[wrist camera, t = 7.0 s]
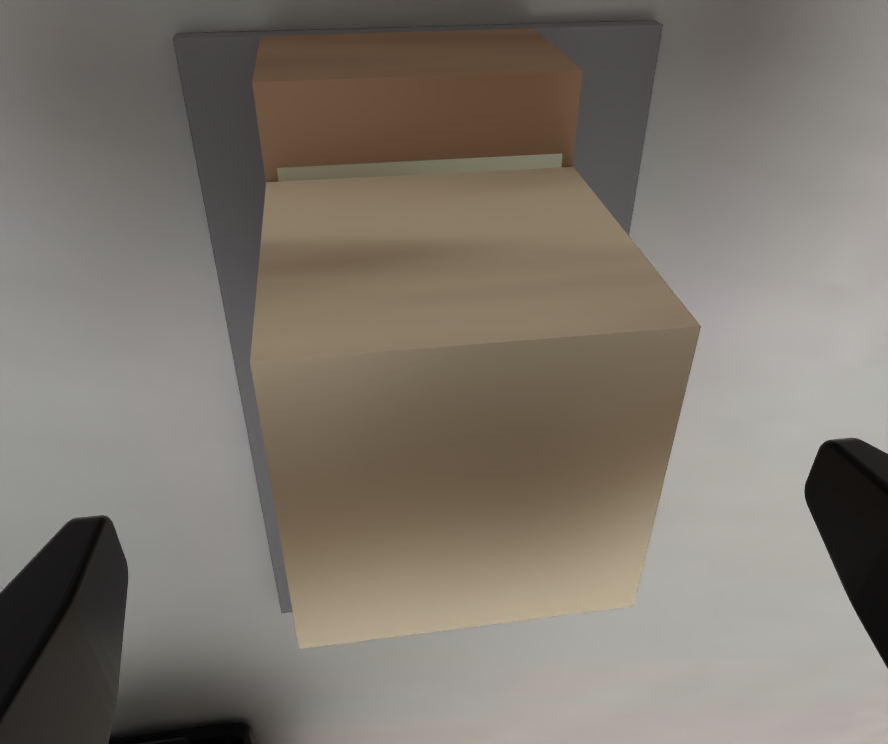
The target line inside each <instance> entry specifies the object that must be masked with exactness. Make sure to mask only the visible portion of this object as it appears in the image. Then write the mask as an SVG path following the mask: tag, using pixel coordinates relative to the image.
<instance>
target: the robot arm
mask: <svg viewBox="0 0 888 744" xmlns="http://www.w3.org/2000/svg"><path fill="white" fill-rule="evenodd" d="M805 499H806V502H807V505H808V508H809V510H810V512H811V514H812V517H813V519H814V521H815V523H816V526H817V528H818V530H819V533H820V535H821V537H822V539H823V542H824V544H825V546H826V548H827V551H828V553H829V555H830V558H831V560H832V562H833V564H834V567H835V569H836V571H837V573H838V576H839V578H840V580H841V583H842V585H843V587H844V589H845V591H846V593H847V596H848V598H849V600H850V602H851V604H852V606H853V608H854V610H855V611H856V613H857V615H858V617H859V619H860V621H861V623H862V624H863V626H864V628H865V630H866V631H867V633H868V635H869V637H870V638H871V640H872V642H873V644H874V645H875V647H876V649H877V651H878V652H879V654H880V656H881V658H882V659H883V661H884V663H885V665H886V667H887V668H888V454H887V453H885V452H883V451H881V450H879V449H877V448H875V447H874V446H872V445H870V444H868V443H866V442H864V441H862V440H860V439H857V438H844V439H834V440H828V441H825V442H824V443H823V444H822V445H821V446H820V448H819V450H818V452H817V455H816V458H815V460H814V463H813V465H812V468H811V471H810V473H809V476H808V478H807V481H806V484H805ZM127 587H128V567H127V562H126V558H125V556H124V553H123V550H122V547H121V544H120V542H119V539H118V536H117V533H116V530H115V528H114V525H113V523H112V521H111V520H110V518H109V517H107V516H103V515H100V516H91V517H81V518H74V519H72V520H70V521H69V522H67V523H66V524H65V525H64V526H63V527H62V528H61V529H60V530H59V531H58V532H57V533H56V535H55V536H54V537H53V538H52V539H51V540H50V541H49V542H48V543H47V544H46V545H45V546H44V547H43V548H42V549H41V550H40V551H39V552H38V553H37V555H36V556H35V557H34V558H33V559H32V560H31V561H30V562H29V563H28V564H27V565H26V566H25V567H24V568H23V569H22V570H21V571H20V572H19V574H18V575H17V576H16V577H15V578H14V579H13V580H12V581H11V582H10V583H9V584H8V585H7V586H6V587H5V588H4V589H3V590H2V591H1V592H0V744H256V743H255V740H254V736H253V732H252V729H251V727H250V726H249V725H247V724H244V723H231V724H224V725H217V726H210V727H203V728H196V729H189V730H181V731H174V732H167V733H160V734H153V735H146V736H139V737H131V738H124V739H117V740H110V741H109V737H110V733H111V728H112V723H113V718H114V713H115V707H116V701H117V693H118V684H119V674H120V663H121V652H122V641H123V630H124V620H125V609H126V598H127Z"/></svg>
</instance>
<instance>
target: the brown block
mask: <svg viewBox="0 0 888 744" xmlns="http://www.w3.org/2000/svg"><path fill="white" fill-rule="evenodd" d="M582 71H583V70H582V69H580V68H579V67H578V66H577V65H576V64H575V63H574V62H572V61H571V60H570V59H569V58H568V57H567V56H565V55H564V54H563V53H562V52H561V51H560V50H559V49H557V48H556V47H555V46H554V45H553V44H552V43H551V42H549V41H548V40H547V39H546V38H545V37H544V36H543V35H541V34H540V33H539V32H538V31H537V30H536V29H535V28H531V29H496V30H461V31H426V32H391V33H357V34H322V35H287V36H260V41H259V47H258V52H257V58H256V63H255V69H254V74H253V80H252V85H253V93H254V100H255V107H256V115H257V122H258V129H259V136H260V144H261V151H262V158H263V166H264V173H265V180H266V182H280V181H300V180H320V179H340V178H359V177H379V176H399V175H419V174H439V173H459V172H479V171H499V170H519V169H539V168H559V167H572V165H573V156H574V146H575V137H576V127H577V118H578V108H579V99H580V90H581V80H582Z"/></svg>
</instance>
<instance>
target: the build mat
mask: <svg viewBox="0 0 888 744" xmlns="http://www.w3.org/2000/svg"><path fill="white" fill-rule="evenodd" d="M531 28H535V29H536V30H537V31H538V32H539V33H540V34H541V35H543V36H544V37H545V38H546V39H547V40H548V41H549V42H551V43H552V44H553V45H554V46H555V47H556V48H557V49H559V50H560V51H561V52H562V53H563V54H564V55H565V56H567V57H568V58H569V59H570V60H571V61H572V62H574V63H575V64H576V65H577V66H578V67H579V68H580V69H582V70H583V71H582V80H581V90H580V99H579V108H578V118H577V127H576V137H575V146H574V156H573V165H572V167H574V168H575V169H576V171H577V172H578V173H579V174H580V176H581V177H582V178H583V179H584V181H585V182H586V183H587V184H588V186H589V187H590V188H591V189H592V191H593V192H594V193H595V194H596V196H597V197H598V198H599V199H600V201H601V202H602V203H603V204H604V206H605V207H606V208H607V209H608V211H609V212H610V213H611V214H612V216H613V217H614V218H615V219H616V221H617V222H618V223H619V224H620V226H621V227H622V228H623V229H624V231H625V232H626V233H627V234H628V236H629V232H630V225H631V219H632V213H633V207H634V200H635V194H636V188H637V181H638V175H639V169H640V163H641V156H642V150H643V144H644V138H645V131H646V125H647V119H648V112H649V106H650V100H651V94H652V87H653V81H654V75H655V69H656V62H657V56H658V50H659V43H660V37H661V31H662V24H660V23H658V22H657V21H655V20H650V21H614V22H578V23H542V24H506V25H470V26H434V27H398V28H363V29H327V30H291V31H255V32H219V33H183V34H176V35H175V36H174V38H173V41H174V46H175V52H176V57H177V62H178V68H179V73H180V78H181V83H182V89H183V94H184V99H185V105H186V110H187V115H188V120H189V126H190V131H191V136H192V142H193V147H194V152H195V157H196V163H197V168H198V173H199V179H200V184H201V189H202V195H203V200H204V205H205V210H206V216H207V221H208V226H209V232H210V237H211V242H212V247H213V253H214V258H215V263H216V269H217V274H218V279H219V284H220V290H221V295H222V300H223V306H224V311H225V316H226V321H227V327H228V332H229V337H230V343H231V348H232V353H233V358H234V364H235V369H236V374H237V380H238V385H239V390H240V395H241V401H242V406H243V411H244V417H245V422H246V427H247V433H248V438H249V443H250V448H251V454H252V459H253V464H254V470H255V475H256V480H257V485H258V491H259V496H260V501H261V507H262V512H263V517H264V522H265V528H266V533H267V538H268V544H269V549H270V554H271V559H272V565H273V570H274V575H275V581H276V586H277V591H278V596H279V602H280V607H281V612H282V613H287V612H293V611H292V605H291V599H290V593H289V587H288V581H287V576H286V570H285V564H284V558H283V552H282V546H281V541H280V535H279V529H278V523H277V517H276V511H275V506H274V500H273V494H272V488H271V482H270V476H269V471H268V465H267V459H266V453H265V447H264V441H263V436H262V430H261V424H260V418H259V412H258V406H257V401H256V395H255V389H254V383H253V377H252V371H251V366H250V356H251V345H252V334H253V323H254V312H255V301H256V290H257V278H258V267H259V256H260V245H261V234H262V223H263V212H264V201H265V190H266V180H265V173H264V166H263V158H262V151H261V144H260V136H259V129H258V122H257V115H256V107H255V100H254V93H253V85H252V80H253V74H254V69H255V63H256V58H257V52H258V47H259V41H260V36H287V35H322V34H357V33H391V32H426V31H461V30H496V29H531Z"/></svg>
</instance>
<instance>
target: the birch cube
mask: <svg viewBox="0 0 888 744" xmlns="http://www.w3.org/2000/svg"><path fill="white" fill-rule="evenodd" d="M700 328H701V326H700V325H699V323H698V322H697V321H696V320H695V318H694V317H693V316H692V315H691V313H690V312H689V311H688V310H687V308H686V307H685V306H684V305H683V303H682V302H681V301H680V300H679V298H678V297H677V296H676V295H675V293H674V292H673V291H672V290H671V288H670V287H669V286H668V285H667V283H666V282H665V281H664V280H663V278H662V277H661V276H660V275H659V273H658V272H657V271H656V270H655V268H654V267H653V266H652V265H651V263H650V262H649V261H648V259H647V258H646V257H645V256H644V254H643V253H642V252H641V251H640V249H639V248H638V247H637V246H636V244H635V243H634V242H633V241H632V239H631V238H630V237H629V236H628V234H627V233H626V232H625V231H624V229H623V228H622V227H621V226H620V224H619V223H618V222H617V221H616V219H615V218H614V217H613V216H612V214H611V213H610V212H609V211H608V209H607V208H606V207H605V206H604V204H603V203H602V202H601V201H600V199H599V198H598V197H597V196H596V194H595V193H594V192H593V191H592V189H591V188H590V187H589V186H588V184H587V183H586V182H585V181H584V179H583V178H582V177H581V176H580V174H579V173H578V172H577V171H576V169H575V168H574V167H559V168H539V169H519V170H499V171H479V172H459V173H439V174H419V175H399V176H379V177H359V178H340V179H320V180H300V181H280V182H266V190H265V201H264V212H263V223H262V234H261V245H260V256H259V267H258V278H257V290H256V301H255V312H254V323H253V334H252V345H251V356H250V366H251V371H252V377H253V383H254V389H255V395H256V401H257V406H258V412H259V418H260V424H261V430H262V436H263V441H264V447H265V453H266V459H267V465H268V471H269V476H270V482H271V488H272V494H273V500H274V506H275V511H276V517H277V523H278V529H279V535H280V541H281V546H282V552H283V558H284V564H285V570H286V576H287V581H288V587H289V593H290V599H291V605H292V611H293V616H294V622H295V628H296V634H297V640H298V646H299V649H305V648H312V647H320V646H328V645H336V644H344V643H351V642H359V641H367V640H375V639H383V638H391V637H398V636H406V635H414V634H422V633H430V632H437V631H445V630H453V629H461V628H469V627H477V626H484V625H492V624H500V623H508V622H516V621H523V620H531V619H539V618H547V617H555V616H563V615H570V614H578V613H586V612H594V611H602V610H609V609H617V608H625V607H633V606H634V603H635V599H636V595H637V591H638V586H639V582H640V578H641V574H642V570H643V566H644V561H645V557H646V553H647V549H648V545H649V541H650V536H651V532H652V528H653V524H654V520H655V516H656V511H657V507H658V503H659V499H660V495H661V491H662V486H663V482H664V478H665V474H666V470H667V466H668V461H669V457H670V453H671V449H672V445H673V441H674V436H675V432H676V428H677V424H678V420H679V416H680V411H681V407H682V403H683V399H684V395H685V391H686V386H687V382H688V378H689V374H690V370H691V365H692V361H693V357H694V353H695V349H696V345H697V340H698V336H699V332H700Z"/></svg>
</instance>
